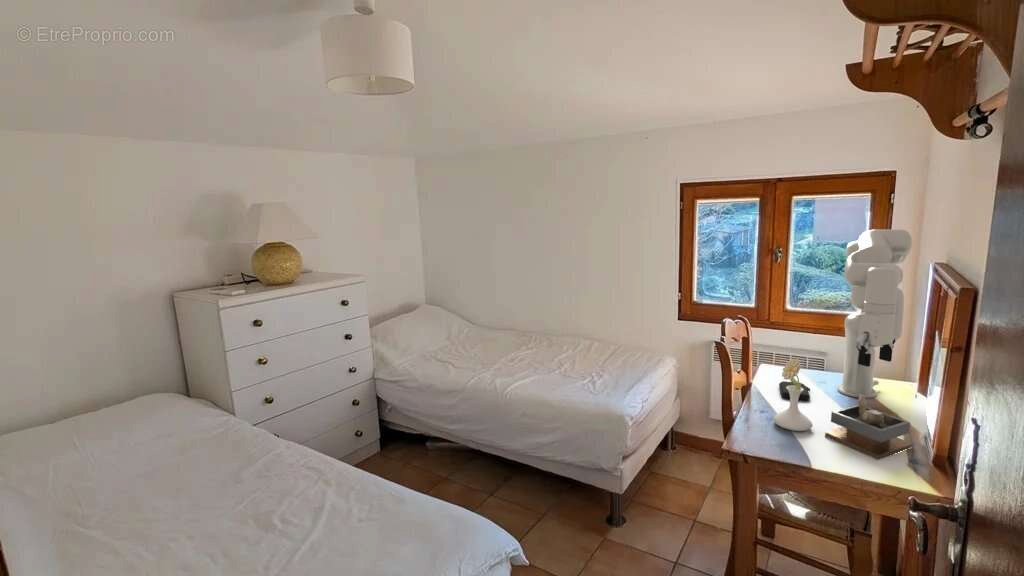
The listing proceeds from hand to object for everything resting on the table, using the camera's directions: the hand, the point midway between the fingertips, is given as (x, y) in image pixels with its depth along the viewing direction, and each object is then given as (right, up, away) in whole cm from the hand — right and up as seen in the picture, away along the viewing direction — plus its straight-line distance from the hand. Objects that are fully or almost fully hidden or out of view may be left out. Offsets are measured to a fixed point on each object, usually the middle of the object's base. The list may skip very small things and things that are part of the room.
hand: (874, 362), depth 145 cm
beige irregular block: (+2, -20, +4) cm, 20 cm away
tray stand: (+1, -26, +4) cm, 26 cm away
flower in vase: (-16, -25, +16) cm, 33 cm away
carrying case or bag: (+1, -20, +43) cm, 47 cm away
